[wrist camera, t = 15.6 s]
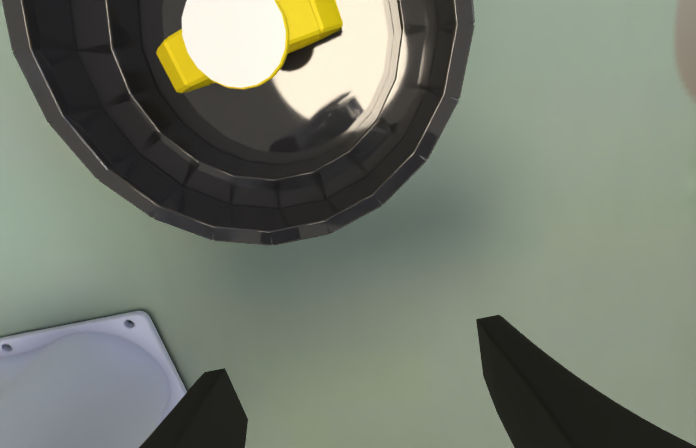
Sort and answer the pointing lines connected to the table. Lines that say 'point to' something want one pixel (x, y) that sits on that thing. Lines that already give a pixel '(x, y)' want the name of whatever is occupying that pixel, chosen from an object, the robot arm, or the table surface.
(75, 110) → the bowl
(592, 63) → the table surface
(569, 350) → the table surface
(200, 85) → the watch
